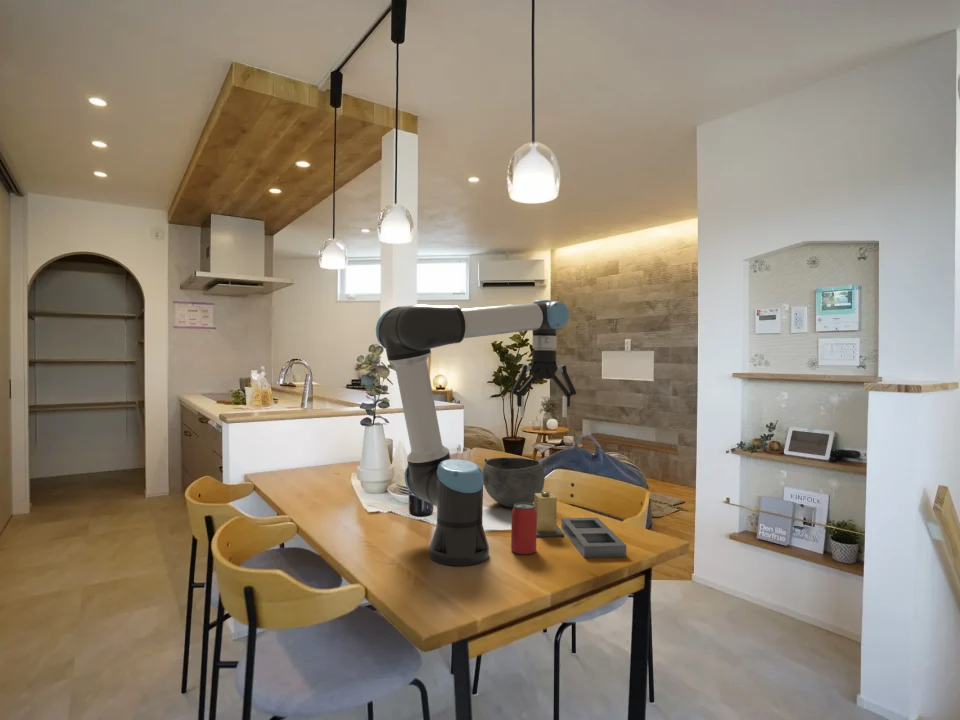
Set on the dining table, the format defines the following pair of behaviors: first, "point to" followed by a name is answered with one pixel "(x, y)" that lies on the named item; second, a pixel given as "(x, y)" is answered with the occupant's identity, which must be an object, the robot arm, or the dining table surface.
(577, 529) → the tray
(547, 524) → the tall wooden peg block
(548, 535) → the mat
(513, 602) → the dining table surface
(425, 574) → the dining table surface
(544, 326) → the robot arm
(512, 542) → the beer can
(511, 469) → the bowl
